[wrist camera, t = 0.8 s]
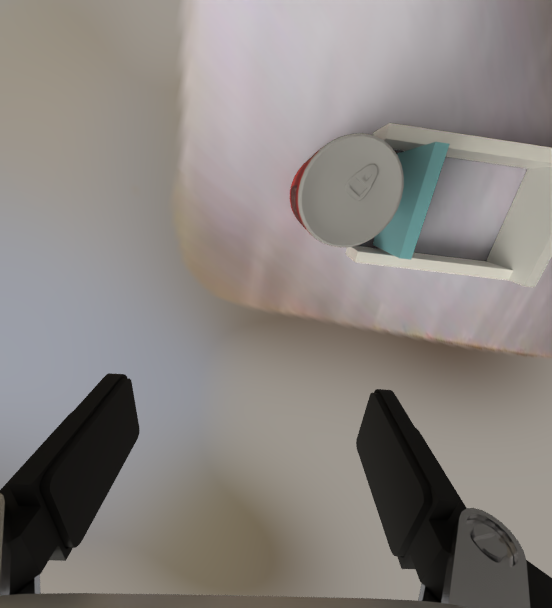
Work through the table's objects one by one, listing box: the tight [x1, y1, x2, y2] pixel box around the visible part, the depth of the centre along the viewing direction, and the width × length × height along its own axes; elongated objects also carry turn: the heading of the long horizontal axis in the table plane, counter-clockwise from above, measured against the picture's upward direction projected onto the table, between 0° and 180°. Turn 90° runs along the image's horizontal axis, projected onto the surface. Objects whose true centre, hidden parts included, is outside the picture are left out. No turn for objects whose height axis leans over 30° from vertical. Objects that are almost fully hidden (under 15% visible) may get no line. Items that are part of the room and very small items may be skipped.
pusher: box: [373, 142, 450, 260], centre depth 26 cm, size 10×1×7 cm, turn 173°
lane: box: [346, 123, 552, 288], centre depth 27 cm, size 13×19×6 cm
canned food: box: [290, 133, 404, 248], centre depth 24 cm, size 8×8×11 cm
